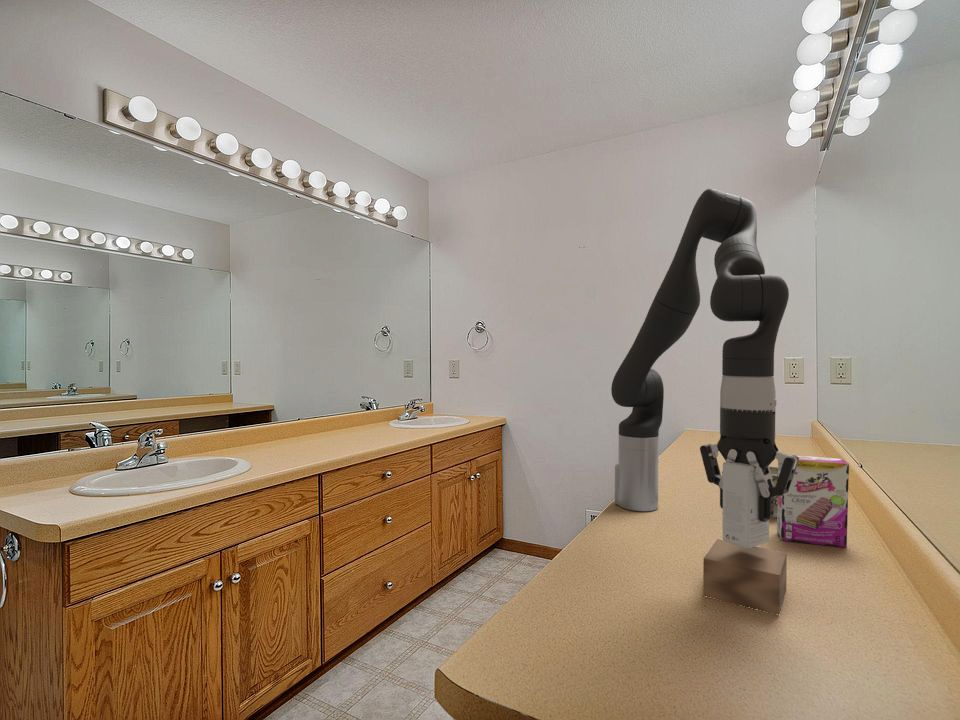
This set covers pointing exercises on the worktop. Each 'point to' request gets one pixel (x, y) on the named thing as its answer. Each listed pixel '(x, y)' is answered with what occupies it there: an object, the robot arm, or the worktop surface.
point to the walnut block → (745, 576)
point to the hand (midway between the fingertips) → (746, 515)
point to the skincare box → (742, 507)
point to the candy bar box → (815, 503)
